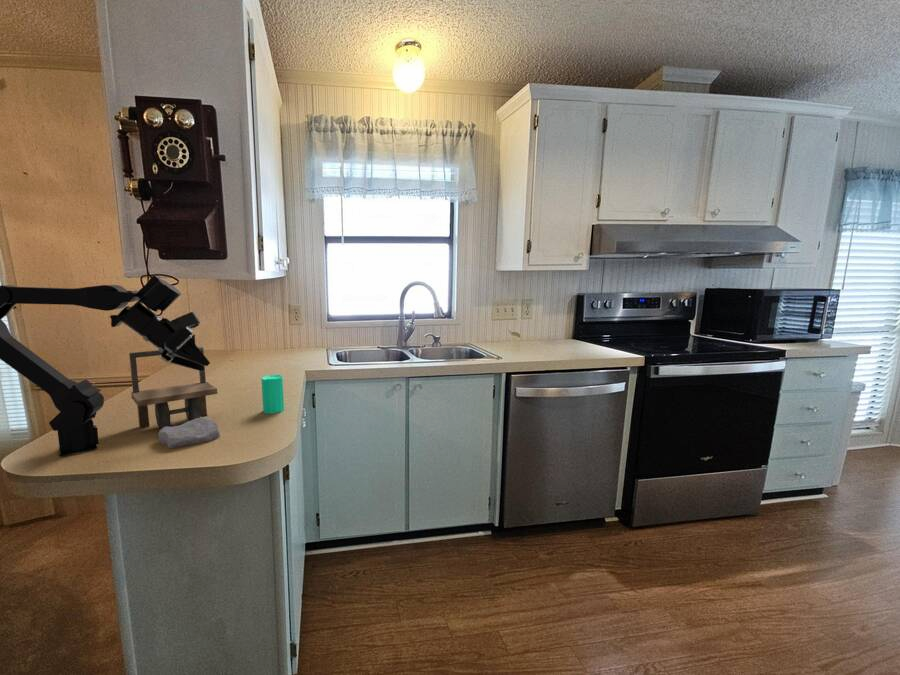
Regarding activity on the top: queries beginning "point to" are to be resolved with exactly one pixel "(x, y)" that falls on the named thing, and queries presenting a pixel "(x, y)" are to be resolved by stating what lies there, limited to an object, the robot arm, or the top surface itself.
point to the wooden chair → (169, 396)
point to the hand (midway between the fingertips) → (206, 367)
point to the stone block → (189, 433)
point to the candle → (272, 393)
